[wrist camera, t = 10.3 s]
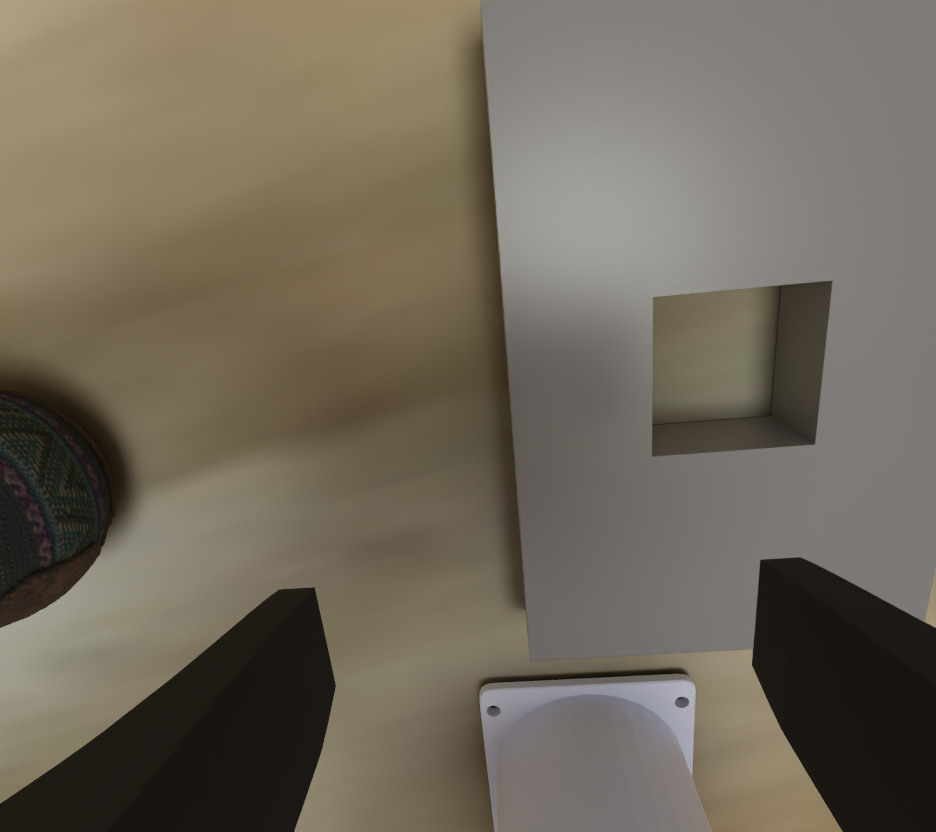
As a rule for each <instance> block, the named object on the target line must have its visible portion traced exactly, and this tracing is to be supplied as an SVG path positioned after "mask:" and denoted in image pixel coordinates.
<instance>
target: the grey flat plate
mask: <svg viewBox="0 0 936 832" xmlns="http://www.w3.org/2000/svg"><path fill="white" fill-rule="evenodd" d="M481 32H482V49H483V62H484V75H485V88H486V101H487V114H488V127H489V140H490V153H491V166H492V179H493V192H494V205H495V219H496V232H497V245H498V258H499V271H500V284H501V297H502V310H503V323H504V336H505V349H506V362H507V375H508V388H509V401H510V415H511V428H512V441H513V454H514V467H515V480H516V493H517V506H518V519H519V532H520V545H521V558H522V571H523V584H524V597H525V610H526V621H527V631H528V641H529V651H530V661H537V660H556V659H575V658H594V657H613V656H632V655H651V654H670V653H689V652H708V651H727V650H746V649H753V646H754V633H755V621H756V608H757V595H758V583H759V570H760V560H763V559H779V558H795V557H801V558H803V559H806V560H808V561H810V562H812V563H814V564H816V565H818V566H820V567H822V568H824V569H826V570H828V571H830V572H832V573H834V574H836V575H838V576H840V577H842V578H843V579H845V580H847V581H849V582H851V583H853V584H855V585H857V586H858V587H860V588H862V589H864V590H866V591H868V592H870V593H871V594H873V595H875V596H877V597H879V598H881V599H882V600H884V601H886V602H888V603H890V604H892V605H894V606H895V607H897V608H899V609H901V610H903V611H905V612H907V613H908V614H910V615H912V616H914V617H916V618H918V619H920V620H921V621H923V622H925V617H926V612H927V606H928V601H929V596H930V591H931V586H932V581H933V575H934V570H935V565H936V0H482V1H481ZM778 285H781V292H780V304H779V317H778V330H777V343H776V355H775V368H774V381H773V394H772V406H771V416H763V417H750V418H737V419H725V420H712V421H699V422H686V423H674V424H661V425H652V395H653V297H660V296H670V295H681V294H692V293H703V292H714V291H724V290H735V289H746V288H757V287H767V286H778Z"/></svg>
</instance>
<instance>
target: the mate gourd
mask: <svg viewBox="0 0 936 832" xmlns="http://www.w3.org/2000/svg"><path fill="white" fill-rule="evenodd" d="M111 476H112V475H111V473H110V470H109V468H108V465H107V463H106V460H105V459H104V457H103V455H102V453H101V452H100V450H99V448H98V447H97V445H96V444H95V442H94V441H93V440H92V438H91V437H90V436H89V434H87V433H86V432H85V431H84V430H83V429H82V428H81V427H80V426H79V425H78V424H77V423H76V422H74V421H73V420H72V419H71V418H69V417H68V416H67V415H65V414H64V413H62V412H61V411H59V410H58V409H56V408H54V407H52V406H50V405H48V404H47V403H46V402H43V401H41V400H39V399H36V398H34V397H30V396H28V395H24V394H22V393H18V392H13V391H4V390H0V628H1V627H3V626H6V625H8V624H11V623H13V622H16V621H19V620H21V619H24V618H27V617H29V616H31V615H33V614H35V613H36V612H38V611H39V610H41V609H44V608H46V607H47V606H48V605H50V604H52V603H53V602H55V601H56V600H58V599H59V598H60V597H62V596H63V595H64V594H66V593H67V592H68V591H69V590H70V589H71V588H72V587H73V586H74V585H75V584H76V583H77V582H78V581H79V580H80V579H81V578H82V576H83V575H84V574H85V573H86V572H87V571H88V569H89V568H90V567H91V566H92V565H93V563H94V562H95V560H96V558H97V557H98V556H99V555H100V551H101V547H102V546H103V545H104V543H105V539H106V535H107V532H108V528H109V526H110V524H111V523H112V519H113V517H114V514H115V502H116V501H115V494H114V493H115V491H114V485H113V480H112V477H111Z"/></svg>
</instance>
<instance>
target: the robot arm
mask: <svg viewBox="0 0 936 832" xmlns="http://www.w3.org/2000/svg"><path fill="white" fill-rule="evenodd" d="M752 666H753V668H754V670H755V673H756V675H757V677H758V679H759V682H760V684H761V686H762V689H763V691H764V693H765V695H766V698H767V700H768V702H769V704H770V706H771V708H772V710H773V713H774V715H775V717H776V719H777V721H778V723H779V725H780V727H781V729H782V731H783V733H784V735H785V736H786V738H787V740H788V741H789V743H790V745H791V747H792V748H793V750H794V752H795V753H796V755H797V757H798V758H799V760H800V762H801V763H802V765H803V767H804V768H805V770H806V772H807V773H808V775H809V777H810V778H811V780H812V782H813V783H814V785H815V787H816V788H817V790H818V792H819V793H820V795H821V797H822V798H823V800H824V801H825V803H826V805H827V806H828V808H829V810H830V811H831V813H832V815H833V816H834V818H835V820H836V821H837V823H838V824H839V826H840V828H841V829H842V831H843V832H936V628H935V627H933V626H931V625H929V624H927V623H925V622H923V621H921V620H920V619H918V618H916V617H914V616H912V615H910V614H908V613H907V612H905V611H903V610H901V609H899V608H897V607H895V606H894V605H892V604H890V603H888V602H886V601H884V600H882V599H881V598H879V597H877V596H875V595H873V594H871V593H870V592H868V591H866V590H864V589H862V588H860V587H858V586H857V585H855V584H853V583H851V582H849V581H847V580H845V579H843V578H842V577H840V576H838V575H836V574H834V573H832V572H830V571H828V570H826V569H824V568H822V567H820V566H818V565H816V564H814V563H812V562H810V561H808V560H806V559H803V558H801V557H795V558H779V559H763V560H760V570H759V583H758V595H757V608H756V621H755V633H754V646H753V659H752ZM335 687H336V685H335V680H334V675H333V671H332V666H331V662H330V657H329V652H328V648H327V643H326V638H325V634H324V629H323V624H322V620H321V615H320V610H319V606H318V601H317V597H316V592H315V587H314V588H298V589H282V590H278V591H277V592H275V593H274V594H273V595H271V596H270V597H269V598H267V599H266V600H265V601H264V602H262V603H261V604H260V605H259V606H257V607H256V608H255V609H254V610H253V611H251V612H250V613H249V614H248V615H247V616H245V617H244V618H243V619H242V620H241V621H240V622H238V623H237V624H236V625H235V626H234V627H232V628H231V629H230V630H229V631H228V632H227V633H225V634H224V635H223V636H222V637H221V638H219V639H218V640H217V641H216V642H215V643H213V644H212V645H211V646H210V647H209V648H208V649H206V650H205V651H204V652H203V653H202V654H200V655H199V656H198V657H197V658H196V659H194V660H193V661H192V662H191V663H190V664H188V665H187V666H186V667H185V668H184V669H182V670H181V671H180V672H179V673H178V674H176V675H175V676H174V677H173V678H171V679H170V680H169V681H168V682H166V683H165V684H164V685H163V686H161V687H160V688H159V689H157V690H156V691H155V692H154V693H152V694H151V695H150V696H148V697H147V698H146V699H145V700H143V701H142V702H141V703H140V704H138V705H137V706H136V707H134V708H133V709H132V710H131V711H129V712H128V713H127V714H125V715H124V716H123V717H122V718H120V719H119V720H118V721H116V722H115V723H114V724H113V725H111V726H110V727H109V728H107V729H106V730H105V731H104V732H102V733H101V734H100V735H98V736H97V737H95V738H94V739H93V740H91V741H90V742H89V743H87V744H86V745H85V746H83V747H82V748H80V749H79V750H78V751H76V752H75V753H73V754H72V755H71V756H69V757H68V758H66V759H65V760H64V761H62V762H61V763H59V764H58V765H57V766H55V767H54V768H52V769H51V770H49V771H48V772H46V773H45V774H43V775H42V776H40V777H39V778H38V779H36V780H35V781H33V782H32V783H30V784H29V785H27V786H26V787H24V788H23V789H21V790H20V791H18V792H17V793H16V794H14V795H13V796H11V797H10V798H8V799H7V800H5V801H4V802H2V803H1V804H0V832H294V830H295V827H296V824H297V822H298V819H299V816H300V813H301V810H302V807H303V804H304V801H305V798H306V795H307V792H308V789H309V787H310V784H311V781H312V778H313V775H314V772H315V769H316V766H317V763H318V760H319V757H320V754H321V751H322V747H323V742H324V738H325V734H326V730H327V725H328V721H329V716H330V711H331V706H332V701H333V697H334V692H335ZM695 696H696V689H695V685H694V683H693V681H692V679H691V678H690V677H689V676H687V675H685V674H664V675H644V676H624V677H604V678H584V679H564V680H544V681H524V682H504V683H490V684H486V685H484V686H483V687H482V688H481V689H480V693H479V702H480V711H481V720H482V729H483V737H484V746H485V755H486V764H487V772H488V781H489V790H490V798H491V807H492V816H493V825H494V832H712V829H711V827H710V824H709V821H708V819H707V816H706V813H705V811H704V808H703V805H702V803H701V800H700V797H699V795H698V792H697V789H696V787H695V784H694V781H693V779H692V771H693V746H694V721H695ZM679 697H683V698H682V699H677V698H679ZM490 706H497V708H490Z"/></svg>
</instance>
